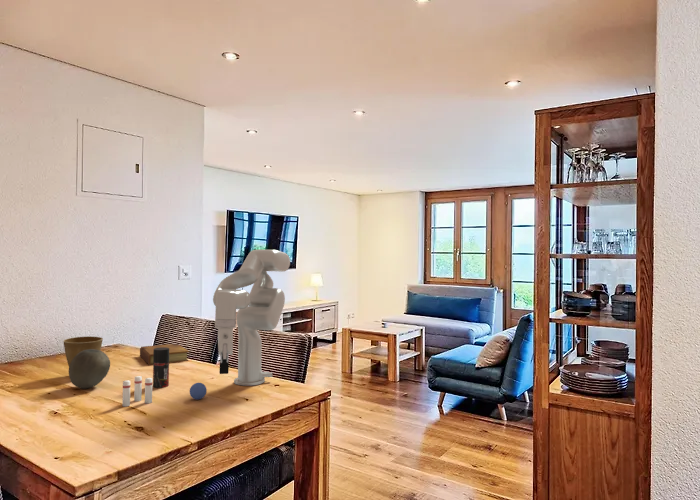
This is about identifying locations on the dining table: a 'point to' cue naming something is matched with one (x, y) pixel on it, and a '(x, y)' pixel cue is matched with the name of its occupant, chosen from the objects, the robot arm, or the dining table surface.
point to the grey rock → (88, 368)
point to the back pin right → (138, 388)
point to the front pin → (148, 390)
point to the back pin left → (126, 393)
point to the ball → (198, 391)
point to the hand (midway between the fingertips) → (223, 373)
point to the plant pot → (80, 346)
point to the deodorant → (161, 367)
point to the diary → (175, 353)
